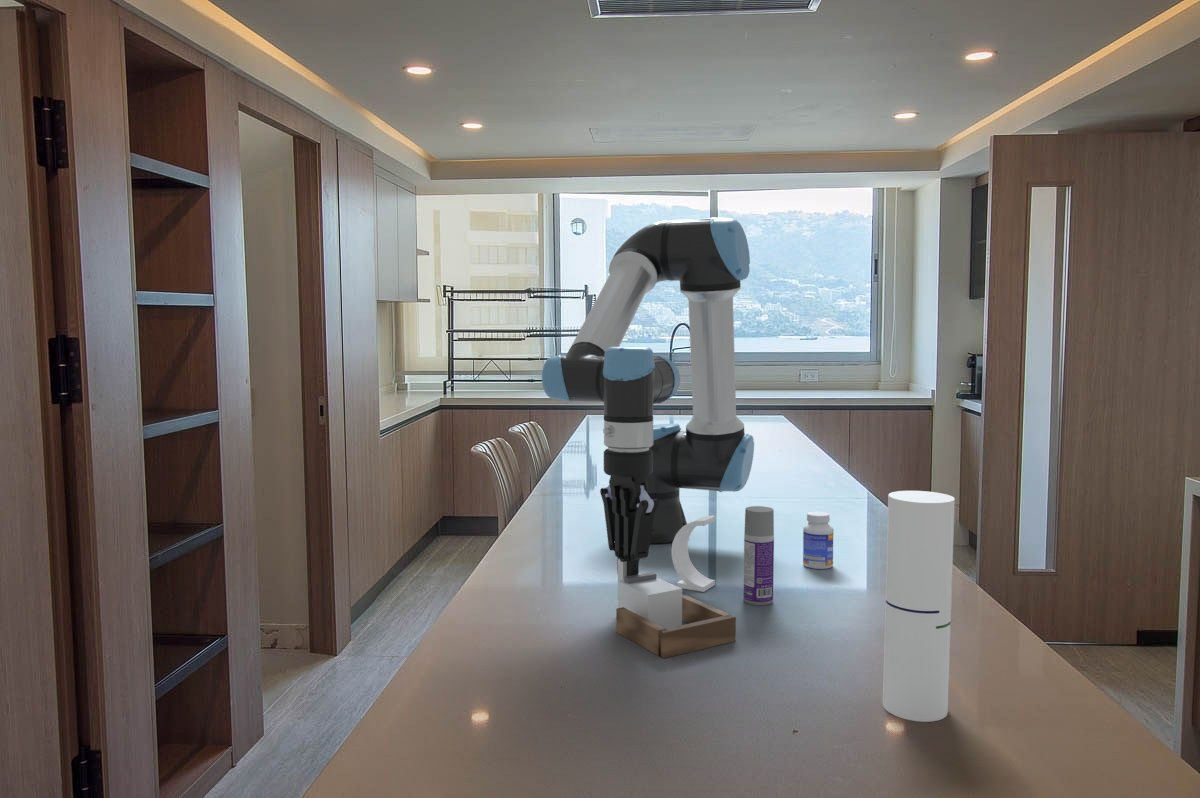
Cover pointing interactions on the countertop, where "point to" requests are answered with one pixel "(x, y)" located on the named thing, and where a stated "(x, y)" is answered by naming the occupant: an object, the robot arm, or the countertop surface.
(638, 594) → the matte white cube
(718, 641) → the bay
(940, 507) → the cylindrical container
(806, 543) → the pill bottle
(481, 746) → the countertop surface
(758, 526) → the container
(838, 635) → the countertop surface
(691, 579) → the headphone stand
